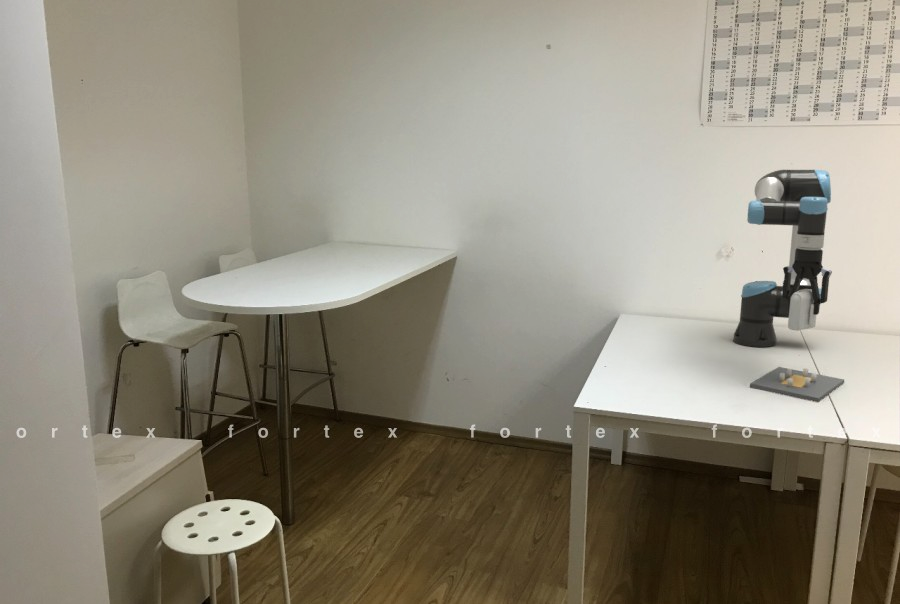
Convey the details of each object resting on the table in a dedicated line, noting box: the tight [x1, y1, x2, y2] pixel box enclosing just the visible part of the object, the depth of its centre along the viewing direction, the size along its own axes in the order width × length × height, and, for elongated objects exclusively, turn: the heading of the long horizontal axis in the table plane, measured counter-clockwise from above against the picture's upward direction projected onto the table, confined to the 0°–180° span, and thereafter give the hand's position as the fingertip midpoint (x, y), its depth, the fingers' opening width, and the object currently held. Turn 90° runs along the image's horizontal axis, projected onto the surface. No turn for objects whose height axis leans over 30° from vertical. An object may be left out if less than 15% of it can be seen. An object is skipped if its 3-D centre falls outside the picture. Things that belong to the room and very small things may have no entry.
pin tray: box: [749, 366, 845, 403], centre depth 228 cm, size 20×24×4 cm
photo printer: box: [787, 289, 817, 331], centre depth 225 cm, size 10×4×12 cm, turn 124°
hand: (802, 322), depth 226 cm, fingers closed on photo printer, 5 cm apart
